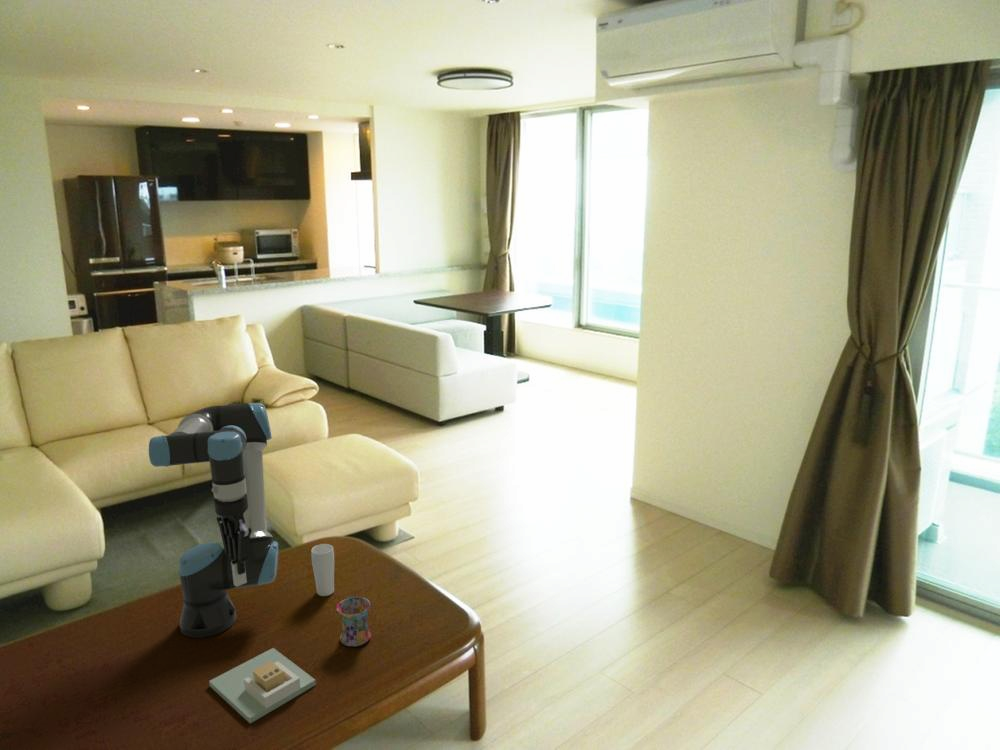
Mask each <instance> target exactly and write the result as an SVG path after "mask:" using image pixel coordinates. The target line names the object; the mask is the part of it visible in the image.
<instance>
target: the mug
mask: <svg viewBox="0 0 1000 750" xmlns="http://www.w3.org/2000/svg"><path fill="white" fill-rule="evenodd" d="M370 608H371V602H370V600H369V599H368V598H365V597H362V596H351V597H346V598H345V599H342V600H341V601H339V602H338V603H337V605H336V607H335V610H336V612H337V614H338V615H339V617H340V620H341V626H342V627H341V628H342V629H341V631H342V632H341V634H340V637H339V641H340V642H341V644H343V645H344V646H347V647H354V648H355V647H359V646H362V645H364V644H366V643H367V642H368V641H369V640H370V639H371V637H372V633H371V630H370V629H369V627H368V622H367V620H368V614H369V610H370Z"/></svg>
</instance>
